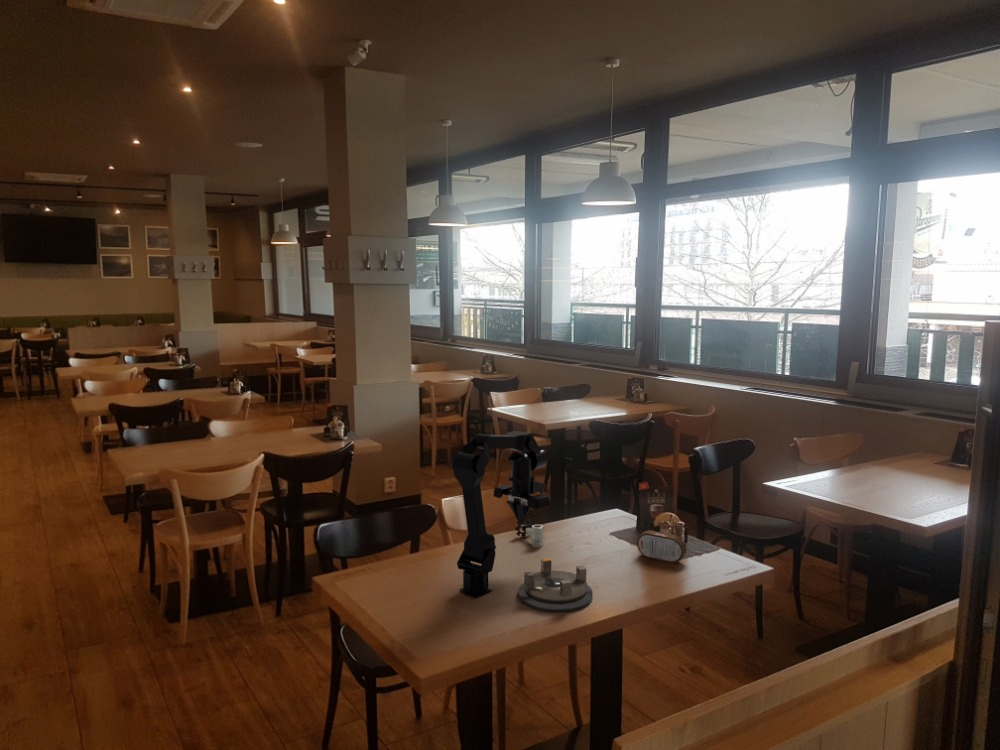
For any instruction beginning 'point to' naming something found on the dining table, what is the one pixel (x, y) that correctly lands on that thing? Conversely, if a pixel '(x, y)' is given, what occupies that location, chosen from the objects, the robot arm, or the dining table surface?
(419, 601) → the dining table surface
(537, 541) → the valve
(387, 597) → the dining table surface
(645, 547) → the tin
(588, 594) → the base plate
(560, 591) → the round fixture plate
